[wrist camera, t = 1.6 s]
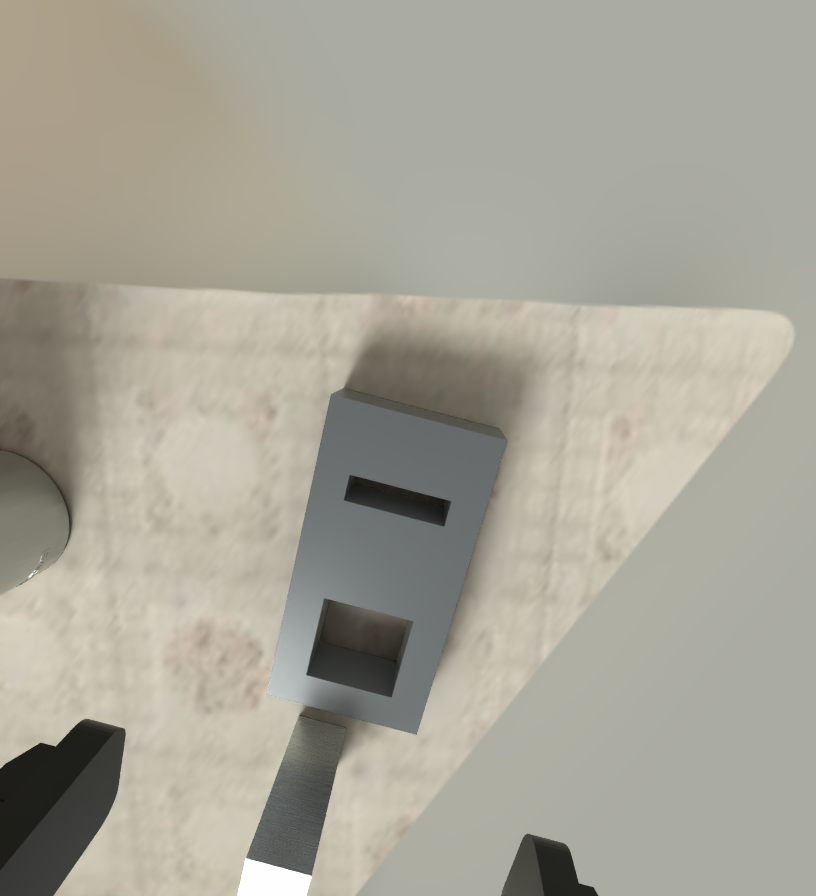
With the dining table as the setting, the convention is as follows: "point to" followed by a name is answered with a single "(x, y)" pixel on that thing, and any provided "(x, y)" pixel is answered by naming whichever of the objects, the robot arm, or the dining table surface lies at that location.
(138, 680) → the dining table surface
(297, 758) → the grey square peg
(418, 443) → the holder
